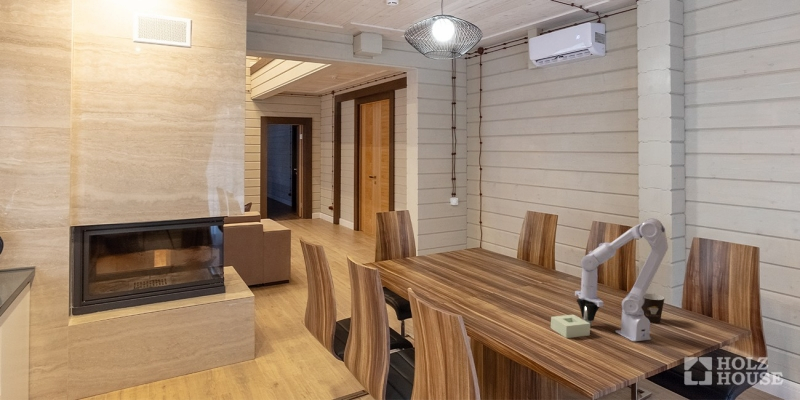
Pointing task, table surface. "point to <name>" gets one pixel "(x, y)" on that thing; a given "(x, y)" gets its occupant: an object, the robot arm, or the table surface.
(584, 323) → the bore block
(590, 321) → the pin
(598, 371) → the table surface
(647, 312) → the coffee mug
